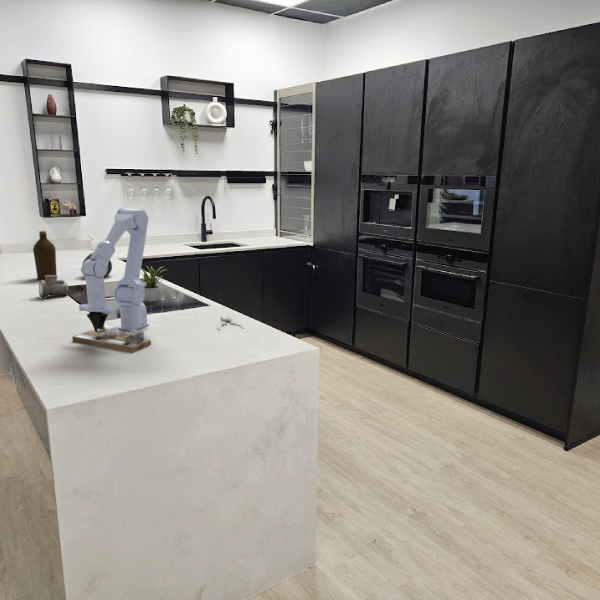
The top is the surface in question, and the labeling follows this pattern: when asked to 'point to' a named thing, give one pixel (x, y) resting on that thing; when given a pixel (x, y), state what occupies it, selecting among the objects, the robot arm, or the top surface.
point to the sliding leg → (106, 331)
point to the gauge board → (115, 340)
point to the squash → (107, 267)
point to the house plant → (151, 284)
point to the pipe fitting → (52, 286)
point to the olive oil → (44, 257)
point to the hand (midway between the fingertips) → (99, 332)
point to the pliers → (229, 322)
